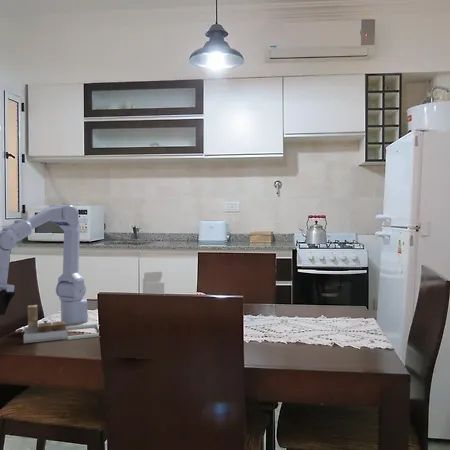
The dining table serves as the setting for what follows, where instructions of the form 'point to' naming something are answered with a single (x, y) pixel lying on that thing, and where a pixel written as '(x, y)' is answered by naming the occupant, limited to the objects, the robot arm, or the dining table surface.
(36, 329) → the silver metal tray
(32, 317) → the tan block
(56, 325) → the walnut block
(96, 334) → the tray
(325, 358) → the dining table surface
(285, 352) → the dining table surface
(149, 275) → the milk
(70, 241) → the robot arm
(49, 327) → the walnut block
